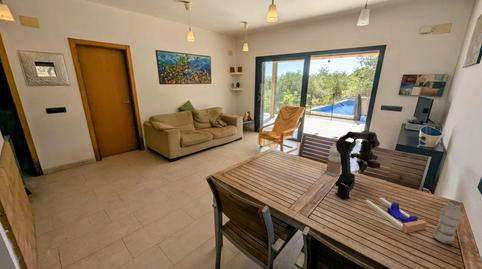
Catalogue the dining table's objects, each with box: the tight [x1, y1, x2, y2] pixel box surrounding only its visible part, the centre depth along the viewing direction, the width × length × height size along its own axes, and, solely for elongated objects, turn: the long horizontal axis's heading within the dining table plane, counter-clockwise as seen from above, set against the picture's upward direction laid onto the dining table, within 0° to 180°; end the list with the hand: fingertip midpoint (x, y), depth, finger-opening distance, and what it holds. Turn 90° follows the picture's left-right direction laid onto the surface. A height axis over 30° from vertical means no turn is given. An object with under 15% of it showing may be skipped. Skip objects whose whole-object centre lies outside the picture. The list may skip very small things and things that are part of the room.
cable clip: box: [386, 202, 419, 224], centre depth 100 cm, size 12×4×6 cm, turn 5°
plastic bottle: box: [433, 200, 463, 245], centre depth 84 cm, size 6×7×20 cm
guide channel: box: [364, 197, 428, 234], centre depth 103 cm, size 12×24×4 cm, turn 12°
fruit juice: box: [326, 138, 341, 177], centre depth 146 cm, size 9×9×28 cm
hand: (362, 172), depth 127 cm, fingers closed
